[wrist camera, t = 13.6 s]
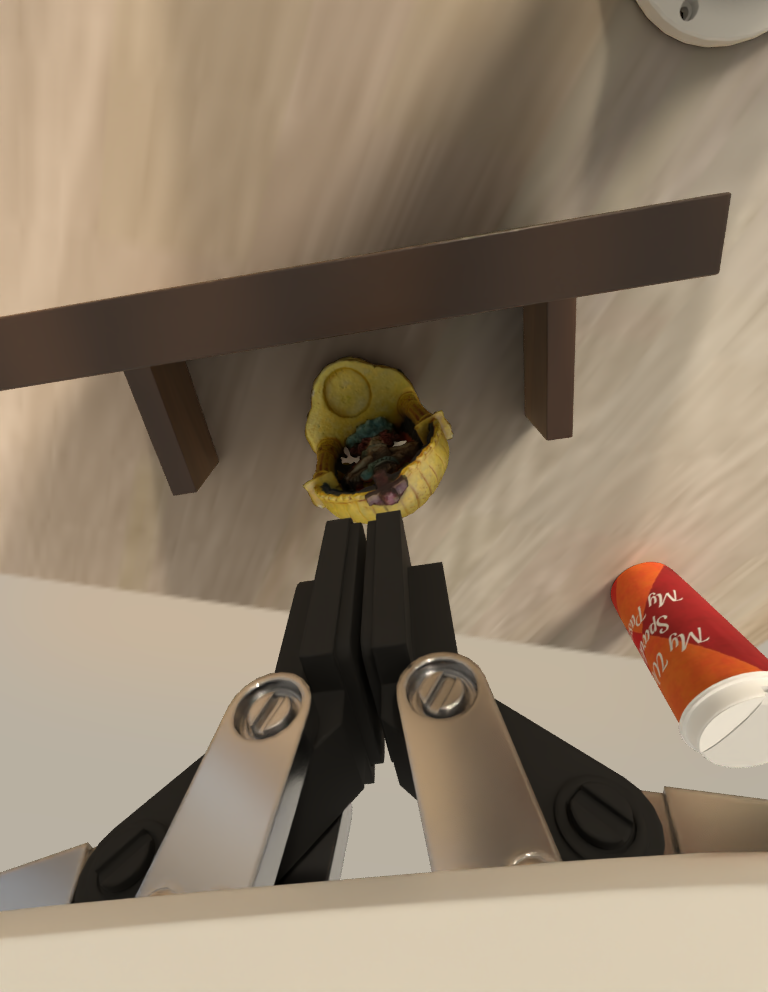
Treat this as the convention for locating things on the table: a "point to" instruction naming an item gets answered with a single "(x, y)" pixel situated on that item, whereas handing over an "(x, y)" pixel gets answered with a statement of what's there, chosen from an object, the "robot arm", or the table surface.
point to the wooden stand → (365, 313)
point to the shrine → (372, 441)
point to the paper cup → (697, 665)
